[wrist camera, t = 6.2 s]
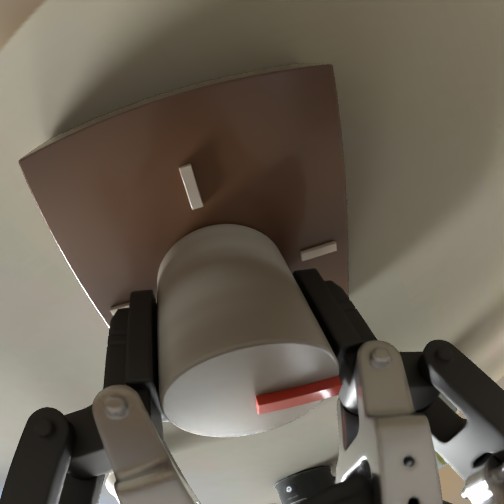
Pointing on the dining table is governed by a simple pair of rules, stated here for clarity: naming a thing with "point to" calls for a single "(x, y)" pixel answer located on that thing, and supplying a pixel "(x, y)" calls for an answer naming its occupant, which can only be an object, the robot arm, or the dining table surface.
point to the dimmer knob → (237, 336)
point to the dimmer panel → (198, 178)
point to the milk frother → (304, 485)
